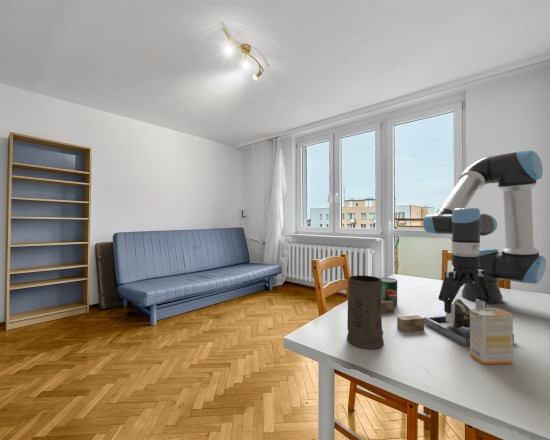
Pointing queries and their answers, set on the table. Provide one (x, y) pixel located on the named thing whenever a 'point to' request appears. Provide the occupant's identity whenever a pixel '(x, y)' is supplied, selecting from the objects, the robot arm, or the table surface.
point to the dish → (449, 330)
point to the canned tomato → (389, 290)
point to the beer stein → (365, 312)
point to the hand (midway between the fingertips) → (465, 321)
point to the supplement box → (491, 336)
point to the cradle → (403, 318)
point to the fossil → (461, 315)
